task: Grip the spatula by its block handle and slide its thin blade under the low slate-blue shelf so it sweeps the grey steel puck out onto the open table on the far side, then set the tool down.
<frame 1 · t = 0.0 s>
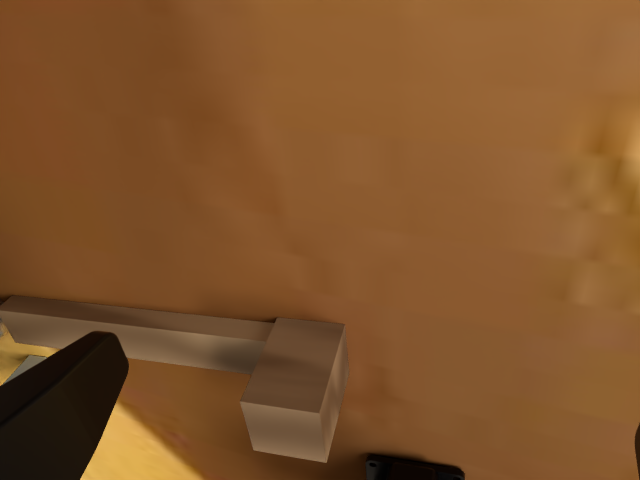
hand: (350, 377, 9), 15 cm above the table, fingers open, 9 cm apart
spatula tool: (314, 345, 30), on the table
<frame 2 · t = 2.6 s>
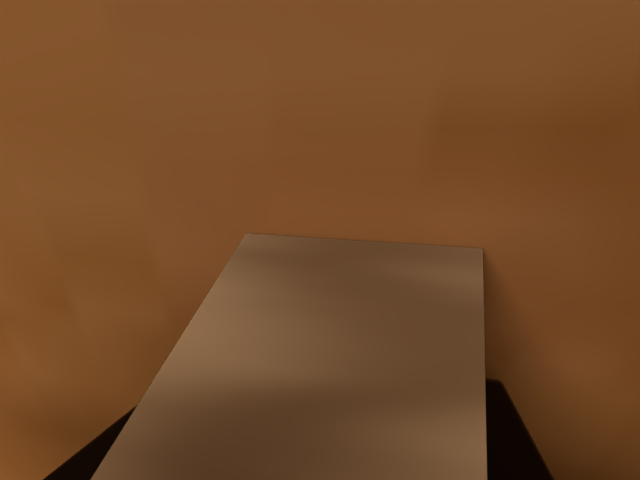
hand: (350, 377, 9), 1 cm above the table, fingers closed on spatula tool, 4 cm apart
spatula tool: (362, 327, 10), on the table, touching gripper
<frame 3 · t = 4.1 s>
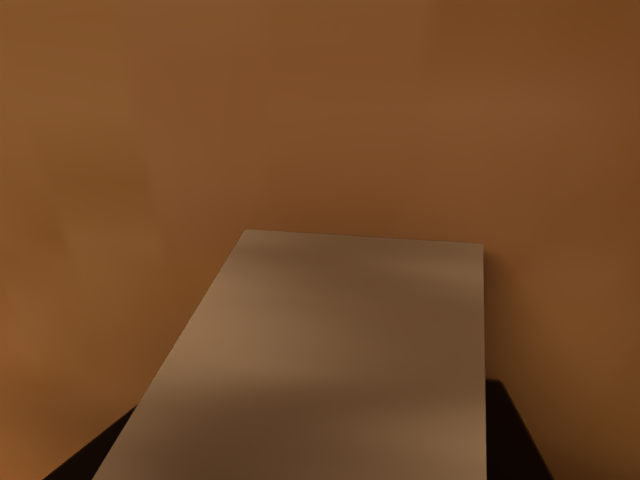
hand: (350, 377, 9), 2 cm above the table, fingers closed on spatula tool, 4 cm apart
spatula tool: (363, 322, 10), point 1 cm above the table, touching gripper, steel puck
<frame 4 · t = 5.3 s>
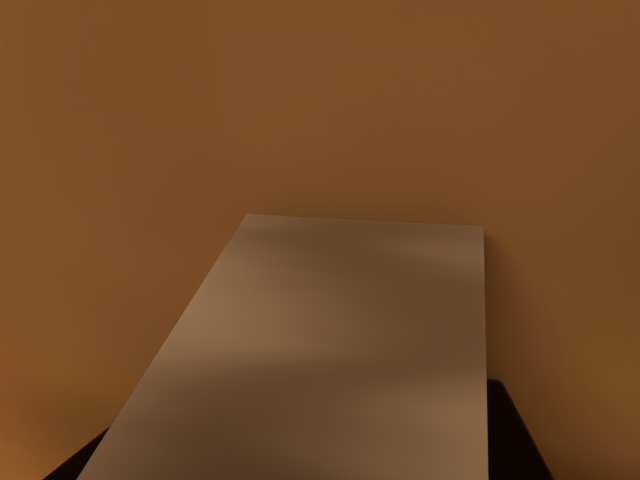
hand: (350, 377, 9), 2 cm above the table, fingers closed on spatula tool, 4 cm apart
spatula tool: (364, 307, 10), on the table, touching gripper
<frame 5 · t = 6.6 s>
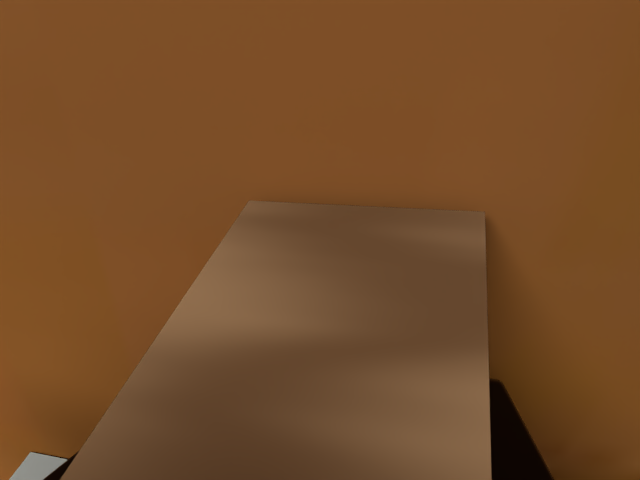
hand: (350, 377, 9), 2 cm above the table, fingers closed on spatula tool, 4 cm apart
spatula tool: (365, 296, 10), on the table, touching gripper
when the fingers open (1 cm above the table, at t = 8.8 s): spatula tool stays where it is, on the table.
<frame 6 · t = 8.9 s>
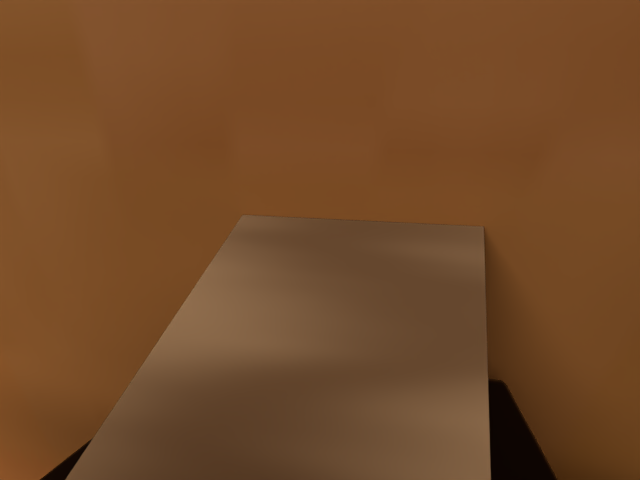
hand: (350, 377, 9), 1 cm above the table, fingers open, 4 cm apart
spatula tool: (362, 311, 10), on the table
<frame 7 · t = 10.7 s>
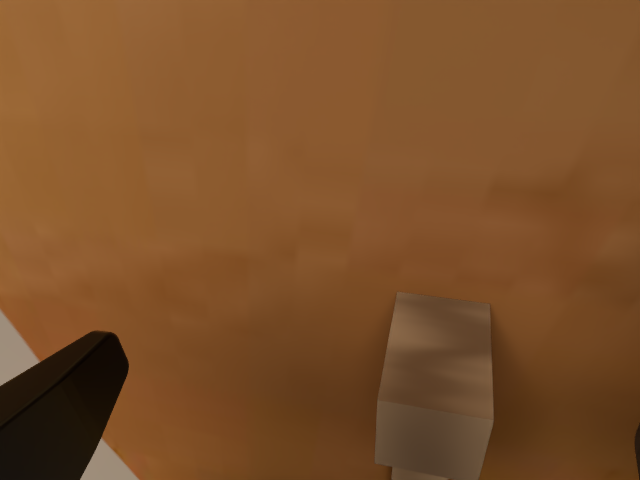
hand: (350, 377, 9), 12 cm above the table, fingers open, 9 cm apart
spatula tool: (438, 330, 24), on the table
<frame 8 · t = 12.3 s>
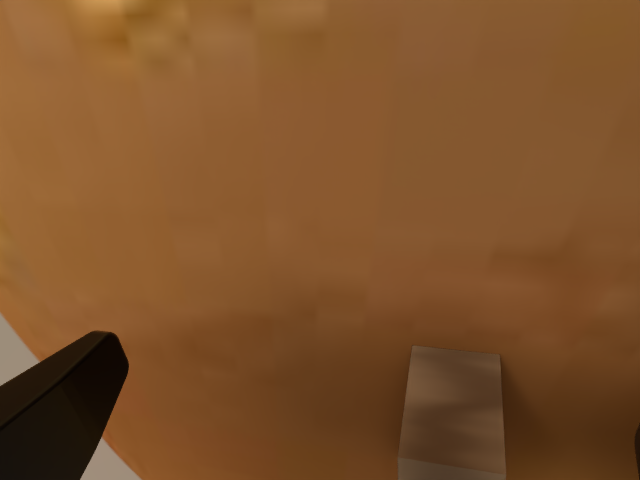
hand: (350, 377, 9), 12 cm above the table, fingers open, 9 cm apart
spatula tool: (453, 378, 25), on the table
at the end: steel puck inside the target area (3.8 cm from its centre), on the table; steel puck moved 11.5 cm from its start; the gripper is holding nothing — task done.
